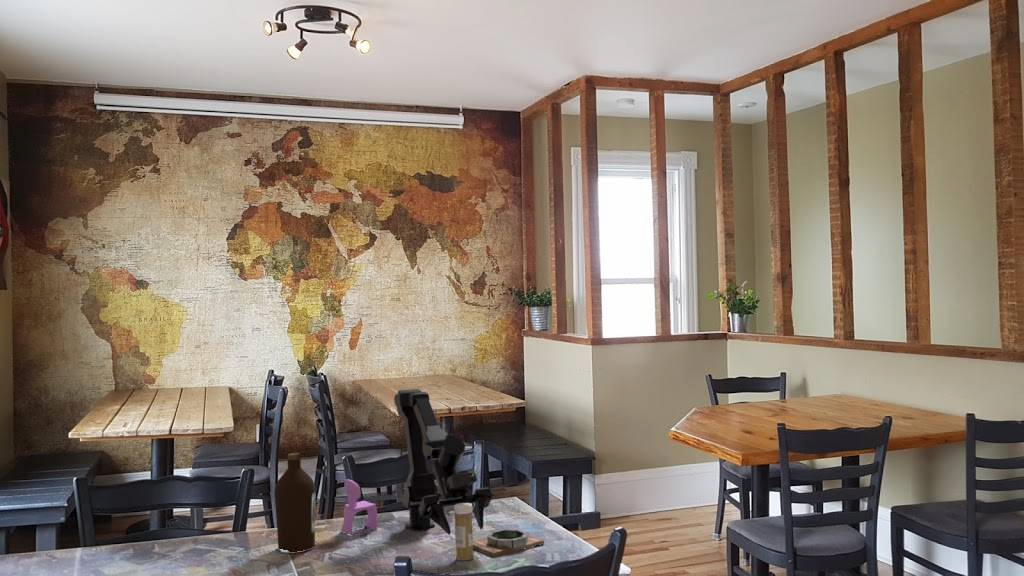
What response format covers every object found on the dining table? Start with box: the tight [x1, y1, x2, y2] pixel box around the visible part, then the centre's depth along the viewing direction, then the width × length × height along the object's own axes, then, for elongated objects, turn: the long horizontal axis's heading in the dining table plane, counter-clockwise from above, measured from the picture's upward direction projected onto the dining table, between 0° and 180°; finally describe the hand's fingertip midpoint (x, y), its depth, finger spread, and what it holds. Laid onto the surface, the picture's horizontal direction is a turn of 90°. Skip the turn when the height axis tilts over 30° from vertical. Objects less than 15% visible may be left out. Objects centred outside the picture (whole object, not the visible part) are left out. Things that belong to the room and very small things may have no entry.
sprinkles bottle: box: [453, 503, 475, 562], centre depth 212 cm, size 5×5×13 cm
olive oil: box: [273, 452, 317, 552], centre depth 225 cm, size 11×11×25 cm
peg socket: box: [486, 528, 529, 548], centre depth 221 cm, size 10×10×2 cm
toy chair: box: [340, 478, 378, 536], centre depth 239 cm, size 8×9×15 cm
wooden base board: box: [473, 534, 545, 558], centre depth 221 cm, size 12×16×1 cm
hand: (466, 530), depth 210 cm, fingers open, 8 cm apart
